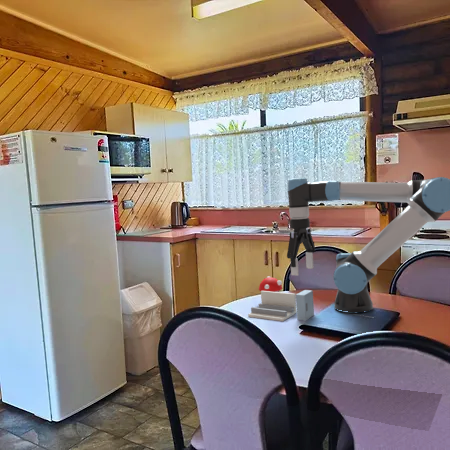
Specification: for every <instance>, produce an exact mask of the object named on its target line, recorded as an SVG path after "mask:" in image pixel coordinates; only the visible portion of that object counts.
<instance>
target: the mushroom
mask: <svg viewBox="0 0 450 450" xmlns="http://www.w3.org/2000/svg"><path fill="white" fill-rule="evenodd" d="M282 283H283V282H282V280H278V279H277V278H276V277H272V276H266V278H263V279H262V281H260V283H259V286H258V291H259V292H261V291H271V292H280V291H281V290H283V286H282Z"/></svg>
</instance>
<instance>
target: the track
mask: <svg viewBox="0 0 450 450" xmlns="http://www.w3.org/2000/svg"><path fill="white" fill-rule="evenodd" d="M260 298H261V301H260V302H261V303H258V307H256V306H255V307H253V306H252V307H251V308H250V311H251V312H249V313H248V315H247V316H248V317H250V318H257V319H262V320H263V319H265V320H270V321H277V322H284V321H286V320H287V319H289V318H291V317H292V316H293V315H295V314H297V305H296V293H291V292H280V291H279V292H271V291H260Z"/></svg>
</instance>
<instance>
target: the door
mask: <svg viewBox="0 0 450 450" xmlns="http://www.w3.org/2000/svg"><path fill="white" fill-rule="evenodd" d="M295 295H296V311H297V313H296V315H297V316H296V318H297V320H298V321H305V322H306V321H307V320H309V319H310V318H312V317H314V315H315V308H314V307H315V306H314V291H313V290H310V289H304V290H302V291H300V292H298V293H295Z"/></svg>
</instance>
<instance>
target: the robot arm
mask: <svg viewBox="0 0 450 450" xmlns="http://www.w3.org/2000/svg"><path fill="white" fill-rule="evenodd" d="M287 195H288V198H287V199H288V208H289V210H288V212H289V218H290V219H289V225H290V229H293V231H290V232H289V239H288V240H289V242H288V247H287V254H286V258H287V259H289V260H290V272H291V273H290V275H291V276H296V277H297V276H300V275H299V260H298V258H297V257H298V254H299V253H298V252H299V250H300V246H301V244H303V246H304V248H305V251H306V252H305V262H306V263H305V265H306V269H309V270H311V269H314V254H313V253H315V252H316V247H315V244H314V240H313V237H312V232H311V228H310V226H311V224H310V218H309V217H310V207H309V203H318V202H333V201H350V202H351V201H352V202H353V201H354V202H381V203H382V202H383V203H384V202H385V203H407V204H408V205H407V206H406V207H405V208H404V209H403V210H402V211H401V212H400V213H399V214H398V215H397V216H396V217H395V218H394V219H393V220H391V221H390V222H389V223H388V224H387V225H385V227H384V228H383V229H382V230H381V231H379V233H378V234H377V235H375V236H374V237H373V239H371V240H370V241H369V242H368V243H367V244H366V245H365V246H363V247H362V248H361V249H360V250H359V251H358V250H356V251H352V252H348V253H346V252H345V253H338V254H336V259H335V262H336V267H335V269H334V271H333V272H334V273H333V282H334V285H335V287H336V288H337V291H336V296H335V300H334V305H333V306H334V309H335V308H336V309H338V310H342V311H348V312H364V311H369V310H371V309H372V310H374V304H373V300H372V297H371V296H370V293H369V291H368V290H369V289H368V283H369V282H370V281H371V280H372V279H373V278H375V276H376V275H377V274H378V268H379V267H380V266H381V265H382V264H383V263H384V262H385V261H387V259H389V257H391V256H392V255H393V254H394V253H395V252H397V250H399V249H400V248H401V247H402V246H403V245H404V244H405V243H406V242H407V241H409V240H410V239H411V238H412V237H413V236H414V235H415V234H416V233H417V232H418V231H420V229H422V228H423V227H424V226H425V225H427V223H430V222H431V223H433V222H436V221H438V219H440V218H441V217H442V216H443V215H444V214H445V213H447V212H450V178H448V177H445V176H437V177H431V178H428V179H418V180H416V179H415V180H414V179H413V180H410V181H408V182H387V181H386V182H383V181H382V182H379V181H378V182H374V181H372V182H371V181H370V182H369V181H338V180H327V181H314V182H309V181H308V179H307V177H301V178H300V177H298V178H297V177H296V178H290V179H288V182H287ZM336 309H335V310H336ZM372 310H371V311H372ZM369 312H370V311H369ZM364 313H365V312H364Z"/></svg>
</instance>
